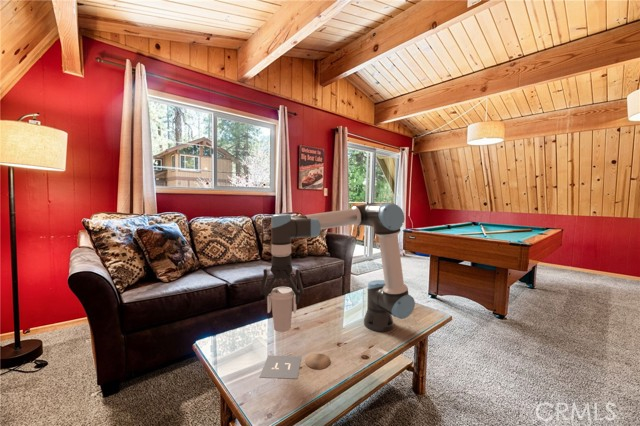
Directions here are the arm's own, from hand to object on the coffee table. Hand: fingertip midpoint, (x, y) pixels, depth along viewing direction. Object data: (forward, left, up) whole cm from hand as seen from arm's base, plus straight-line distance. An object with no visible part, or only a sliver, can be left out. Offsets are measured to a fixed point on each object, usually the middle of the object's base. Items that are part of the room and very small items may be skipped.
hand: (282, 311), depth 106 cm
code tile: (0, 0, -22) cm, 22 cm away
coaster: (-14, -4, -22) cm, 26 cm away
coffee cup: (0, 0, -7) cm, 7 cm away
